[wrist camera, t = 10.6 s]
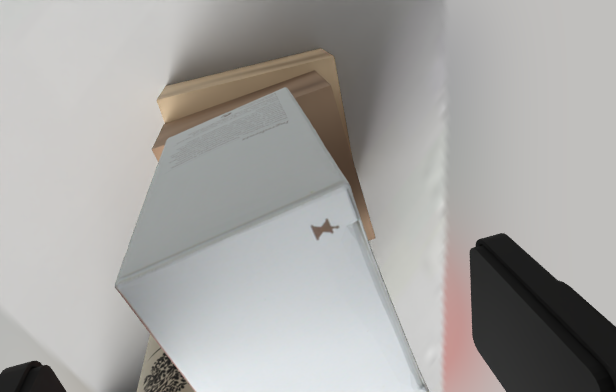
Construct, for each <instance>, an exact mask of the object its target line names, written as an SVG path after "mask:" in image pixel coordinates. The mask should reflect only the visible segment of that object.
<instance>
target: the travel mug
mask: <svg viewBox="0 0 616 392" xmlns="http://www.w3.org/2000/svg"><path fill="white" fill-rule="evenodd" d="M137 392H195V391H194V390H193V388H192V387H191V386H190V384H189V383H188V382H187V380H186V379H185V378H184V377H183V375H182V374H181V373H180V372H179V370H178V369H177V368H176V366H175V365H174V364H173V363H172V361H171V360H170V359H169V357H168V356H167V355H166V353H165V352H164V351H163V349H162V348H161V347H160V346H159V344H158V343H157V342H156V340H155V339H154V338H153V337H152V335H151V334H150V337H149V341H148V345H147V349H146V354H145V358H144V362H143V367H142V371H141V375H140V379H139V384H138V388H137Z"/></svg>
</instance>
